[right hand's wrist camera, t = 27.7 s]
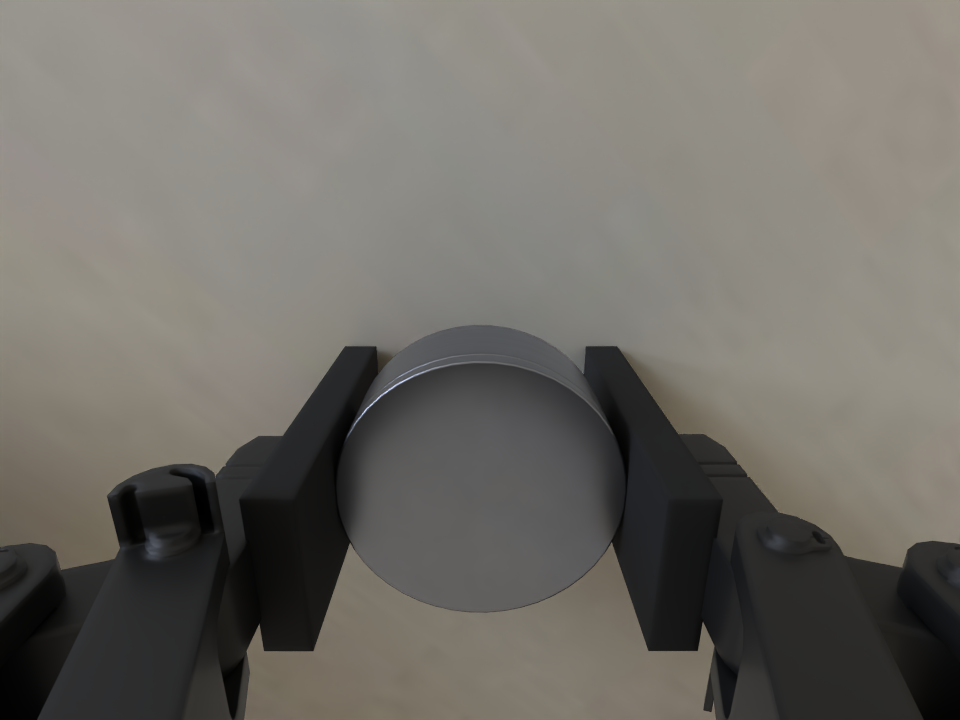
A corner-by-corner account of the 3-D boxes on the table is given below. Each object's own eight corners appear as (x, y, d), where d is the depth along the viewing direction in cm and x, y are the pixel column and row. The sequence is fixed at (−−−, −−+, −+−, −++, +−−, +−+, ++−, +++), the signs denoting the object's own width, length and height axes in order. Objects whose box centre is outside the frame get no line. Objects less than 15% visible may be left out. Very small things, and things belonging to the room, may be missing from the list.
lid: (646, 474, 12) (677, 535, 10) (446, 579, 13) (440, 652, 11) (521, 273, 11) (531, 301, 9) (306, 407, 12) (273, 459, 10)
